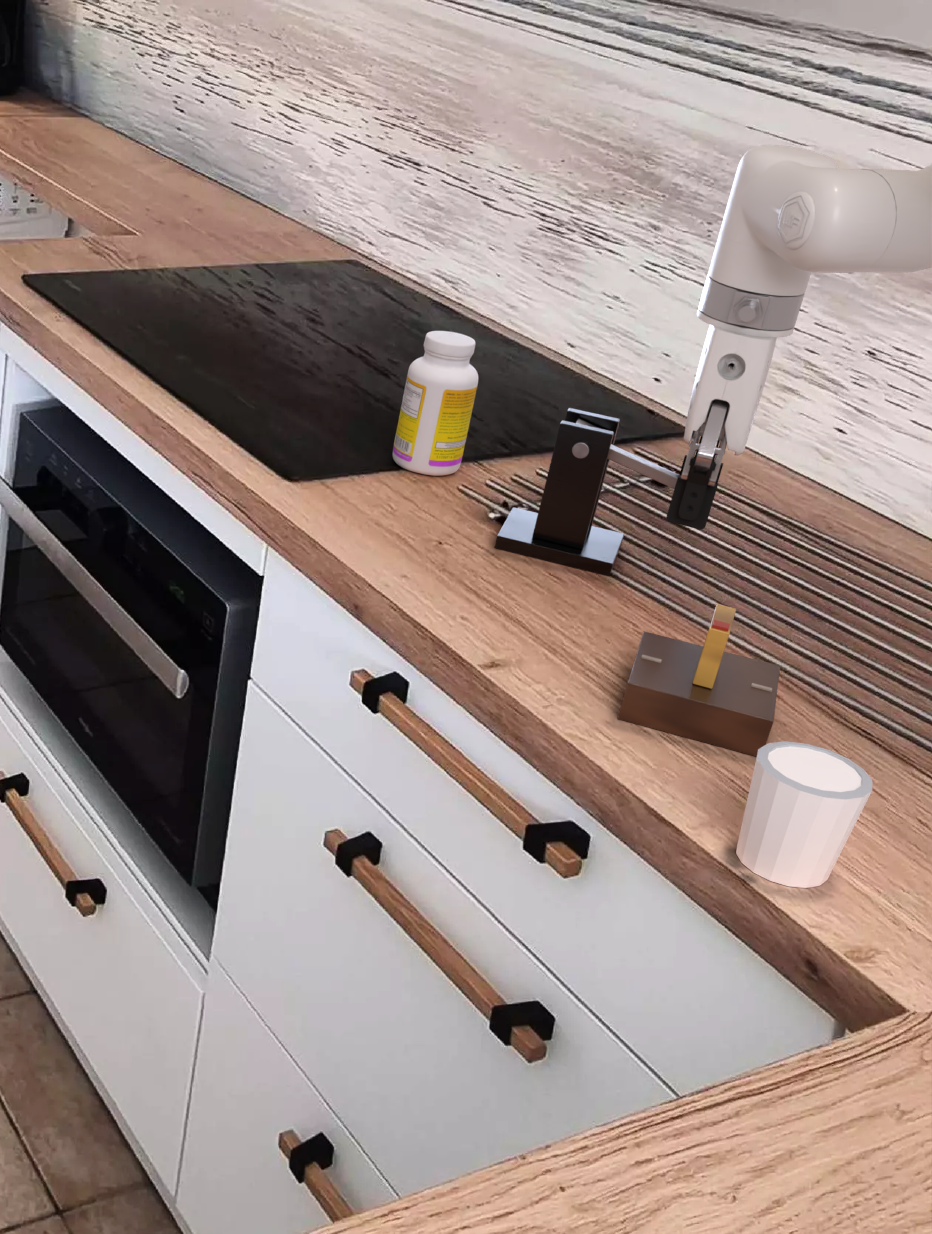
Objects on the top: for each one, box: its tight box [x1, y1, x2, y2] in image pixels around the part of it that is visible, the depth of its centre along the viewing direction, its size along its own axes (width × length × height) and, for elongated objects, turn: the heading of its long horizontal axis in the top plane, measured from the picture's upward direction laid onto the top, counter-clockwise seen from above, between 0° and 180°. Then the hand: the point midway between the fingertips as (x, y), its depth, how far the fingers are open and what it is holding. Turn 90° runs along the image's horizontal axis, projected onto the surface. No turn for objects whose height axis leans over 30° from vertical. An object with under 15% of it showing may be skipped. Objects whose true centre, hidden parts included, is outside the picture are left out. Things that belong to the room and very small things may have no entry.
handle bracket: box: [494, 407, 625, 577], centre depth 151 cm, size 10×8×12 cm
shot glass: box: [735, 740, 874, 889], centre depth 109 cm, size 7×7×7 cm
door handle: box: [576, 419, 681, 490], centre depth 149 cm, size 12×5×2 cm, turn 68°
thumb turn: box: [693, 603, 737, 689], centre depth 126 cm, size 5×1×5 cm, turn 155°
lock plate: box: [617, 630, 781, 758], centre depth 127 cm, size 10×10×3 cm
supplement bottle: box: [392, 330, 479, 477], centre depth 167 cm, size 7×7×13 cm
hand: (688, 511), depth 148 cm, fingers closed on door handle, 5 cm apart
